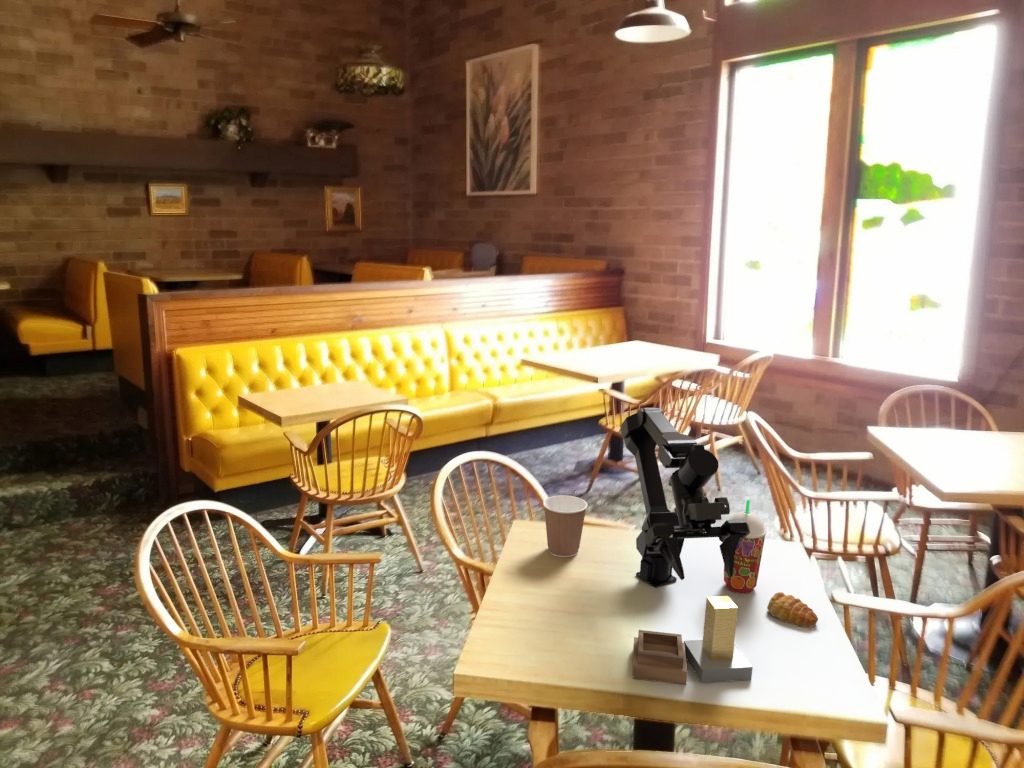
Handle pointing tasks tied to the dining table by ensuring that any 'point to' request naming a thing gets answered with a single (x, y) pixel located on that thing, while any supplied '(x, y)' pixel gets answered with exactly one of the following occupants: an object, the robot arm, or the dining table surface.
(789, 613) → the pastry
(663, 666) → the walnut holder
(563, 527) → the coffee cup
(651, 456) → the robot arm
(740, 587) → the smoothie
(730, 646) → the brass bar
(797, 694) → the dining table surface
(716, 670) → the slate plinth
